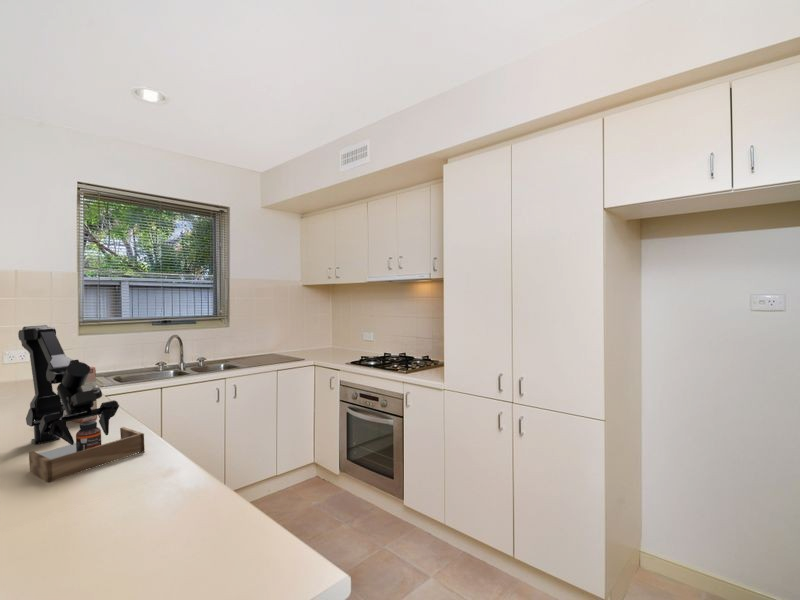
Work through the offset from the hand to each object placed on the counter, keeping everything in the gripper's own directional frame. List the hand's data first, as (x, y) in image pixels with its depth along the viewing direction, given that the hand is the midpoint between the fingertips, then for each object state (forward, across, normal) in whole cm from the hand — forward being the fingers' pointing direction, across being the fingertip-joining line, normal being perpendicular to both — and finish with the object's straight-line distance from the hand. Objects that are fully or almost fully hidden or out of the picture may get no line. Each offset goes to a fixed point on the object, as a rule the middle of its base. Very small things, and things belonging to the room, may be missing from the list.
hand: (90, 439), depth 121 cm
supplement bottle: (+4, 0, +6) cm, 7 cm away
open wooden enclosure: (+4, 0, +6) cm, 7 cm away
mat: (-6, 0, +15) cm, 16 cm away
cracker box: (-33, +17, +43) cm, 57 cm away
